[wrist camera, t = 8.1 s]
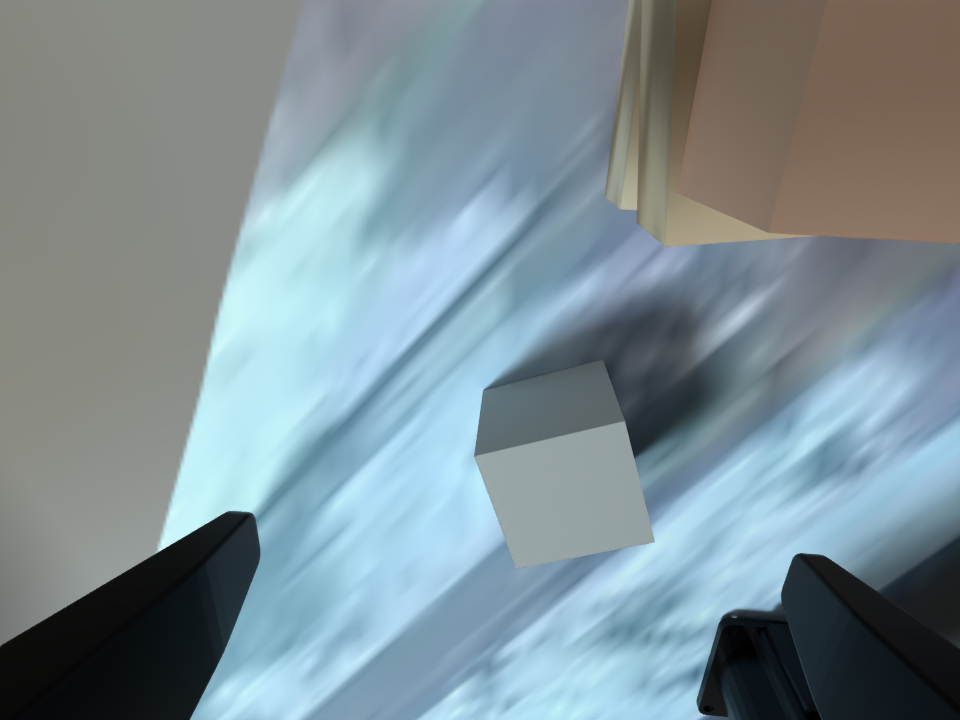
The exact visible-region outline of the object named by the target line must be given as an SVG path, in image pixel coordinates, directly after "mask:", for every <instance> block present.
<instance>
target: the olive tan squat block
mask: <svg viewBox="0 0 960 720" xmlns="http://www.w3.org/2000/svg"><path fill="white" fill-rule="evenodd" d="M641 22H642V0H629V5H628V13H627V21H626V29H625V37H624V45H623V53H622V61H621V69H620V78H619V86H618V94H617V102H616V110H615V118H614V126H613V134H612V142H611V150H610V159H609V167H608V175H607V183H606V191H605V197H606V198H607V199H608V200H609V201H611V202H612V203H613V204H614V205H616V206H617V207H618V208H619V209H620V210H637V187H638V146H639V104H640V63H641Z"/></svg>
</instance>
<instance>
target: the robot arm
mask: <svg viewBox="0 0 960 720" xmlns="http://www.w3.org/2000/svg"><path fill="white" fill-rule="evenodd" d="M259 560H260V543H259V537H258V531H257V524H256V519H255V516H254V515H253V514H252V513H250V512H241V511H228V512H226V513H224V514H222V515H220V516H219V517H217V518H215V519H214V520H212V521H210V522H209V523H207V524H205V525H204V526H202V527H200V528H198V529H197V530H195V531H193V532H192V533H190V534H188V535H187V536H185V537H183V538H182V539H180V540H178V541H177V542H175V543H173V544H171V545H170V546H168V547H166V548H165V549H163V550H161V551H160V552H158V553H156V554H155V555H153V556H151V557H150V558H148V559H146V560H144V561H143V562H141V563H139V564H138V565H136V566H134V567H133V568H131V569H129V570H128V571H126V572H124V573H122V574H121V575H119V576H117V577H116V578H114V579H112V580H111V581H109V582H107V583H106V584H104V585H102V586H101V587H99V588H97V589H96V590H94V591H92V592H90V593H89V594H87V595H86V596H84V597H82V598H80V599H79V600H77V601H75V602H74V603H72V604H70V605H68V606H67V607H66V608H63V609H62V610H60V611H58V612H57V613H55V614H53V615H52V616H50V617H48V618H47V619H45V620H43V621H41V622H40V623H38V624H36V625H35V626H33V627H31V628H30V629H28V630H26V631H24V632H23V633H21V634H19V635H18V636H16V637H14V638H13V639H11V640H9V641H8V642H6V643H4V644H2V645H1V646H0V720H190V718H191V716H192V714H193V712H194V711H195V709H196V707H197V705H198V703H199V701H200V699H201V697H202V695H203V693H204V691H205V689H206V687H207V685H208V683H209V681H210V679H211V677H212V675H213V673H214V671H215V669H216V667H217V665H218V663H219V661H220V659H221V657H222V655H223V653H224V651H225V648H226V646H227V644H228V641H229V639H230V636H231V634H232V631H233V629H234V626H235V623H236V621H237V618H238V616H239V613H240V611H241V608H242V605H243V603H244V600H245V598H246V595H247V592H248V590H249V587H250V585H251V582H252V580H253V577H254V574H255V572H256V569H257V567H258V564H259ZM781 601H782V606H783V609H784V612H785V615H786V618H787V621H788V622H776V621H764V620H751V619H739V618H726V619H723V620H722V621H721V622H720V623H719V625H718V629H717V632H716V636H715V639H714V642H713V646H712V649H711V653H710V656H709V659H708V663H707V666H706V670H705V673H704V677H703V680H702V683H701V687H700V690H699V694H698V697H697V706H698V709H699V711H700V713H702V714H705V715H712V716H724V717H729V720H960V649H959V648H958V647H956V646H955V645H954V644H952V643H951V642H949V641H948V640H946V639H945V638H943V637H942V636H941V635H939V634H938V633H936V632H935V631H933V630H932V629H930V628H929V627H927V626H926V625H925V624H923V623H922V622H920V621H919V620H917V619H916V618H914V617H913V616H912V615H910V614H909V613H907V612H906V611H904V610H903V609H901V608H900V607H898V606H897V605H896V604H894V603H893V602H891V601H890V600H888V599H887V598H885V597H884V596H883V595H881V594H880V593H878V592H877V591H875V590H874V589H872V588H871V587H869V586H868V585H867V584H865V583H864V582H862V581H861V580H859V579H858V578H856V577H855V576H854V575H852V574H851V573H849V572H848V571H846V570H845V569H843V568H842V567H840V566H839V565H838V564H836V563H835V562H833V561H832V560H830V559H829V558H827V557H826V556H823V555H818V554H804V553H800V554H797V555H795V556H794V557H793V559H792V562H791V565H790V567H789V570H788V573H787V576H786V579H785V582H784V585H783V588H782V592H781Z"/></svg>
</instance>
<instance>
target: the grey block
mask: <svg viewBox="0 0 960 720" xmlns="http://www.w3.org/2000/svg"><path fill="white" fill-rule="evenodd" d="M474 457H475V460H476V462H477V465H478V468H479V470H480V473H481V476H482V478H483V481H484V484H485V486H486V489H487V492H488V494H489V497H490V500H491V502H492V505H493V508H494V510H495V513H496V516H497V518H498V521H499V524H500V526H501V529H502V532H503V534H504V537H505V540H506V542H507V545H508V548H509V550H510V553H511V556H512V558H513V561H514V564H515V566H516V569H518V568H524V567H529V566H534V565H539V564H544V563H549V562H555V561H560V560H565V559H570V558H575V557H581V556H586V555H591V554H596V553H601V552H606V551H612V550H617V549H622V548H627V547H632V546H637V545H643V544H648V543H653V542H655V541H654V537H653V533H652V529H651V525H650V521H649V517H648V513H647V509H646V505H645V500H644V496H643V492H642V488H641V484H640V480H639V476H638V472H637V468H636V464H635V460H634V456H633V452H632V448H631V444H630V440H629V436H628V432H627V427H626V423H625V420H624V417H623V414H622V412H621V409H620V406H619V403H618V400H617V398H616V395H615V392H614V389H613V386H612V384H611V381H610V378H609V375H608V372H607V370H606V367H605V364H604V361H603V359H602V360H599V361H595V362H591V363H587V364H583V365H579V366H575V367H571V368H567V369H564V370H560V371H556V372H552V373H548V374H544V375H540V376H536V377H532V378H529V379H525V380H521V381H517V382H513V383H509V384H505V385H501V386H498V387H494V388H490V389H486V390H483V395H482V403H481V410H480V418H479V425H478V432H477V440H476V447H475V455H474Z"/></svg>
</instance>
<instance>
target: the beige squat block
mask: <svg viewBox="0 0 960 720" xmlns="http://www.w3.org/2000/svg"><path fill="white" fill-rule="evenodd" d="M711 2H712V0H642V22H641V63H640V104H639V146H638V187H637V224H638V225H640V226H641V227H642V228H643V229H645V230H646V231H647V232H648V233H649V234H651V235H652V236H653V237H654V238H656V239H657V240H658V241H659V242H660V243H662V244H663V245H664V246H665V247H671V246H684V245H698V244H711V243H725V242H739V241H752V240H766V239H780V238H793V237H807V236H813V235H794V234H776V233H767V232H765V231H762V230H760V229H758V228H756V227H753V226H751V225H749V224H746V223H744V222H742V221H739V220H737V219H735V218H733V217H730V216H728V215H726V214H723V213H721V212H719V211H716V210H714V209H712V208H709V207H707V206H705V205H703V204H700V203H698V202H696V201H693V200H691V199H689V198H686V197H684V196H682V195H680V194H677V189H678V183H679V178H680V172H681V167H682V161H683V156H684V150H685V145H686V139H687V134H688V128H689V123H690V117H691V112H692V106H693V101H694V95H695V90H696V84H697V79H698V73H699V68H700V62H701V57H702V51H703V46H704V40H705V35H706V29H707V24H708V18H709V13H710V7H711Z"/></svg>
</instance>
